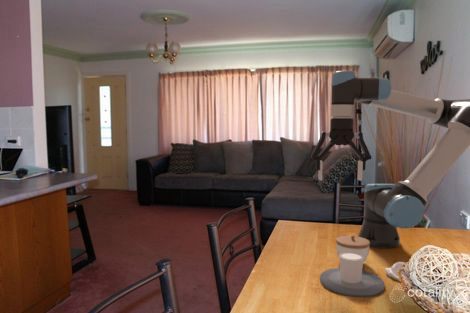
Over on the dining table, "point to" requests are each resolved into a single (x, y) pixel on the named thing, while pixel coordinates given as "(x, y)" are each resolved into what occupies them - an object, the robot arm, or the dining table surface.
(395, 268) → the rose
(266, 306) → the dining table surface
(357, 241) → the lidded jar
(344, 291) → the dish
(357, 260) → the white cup
